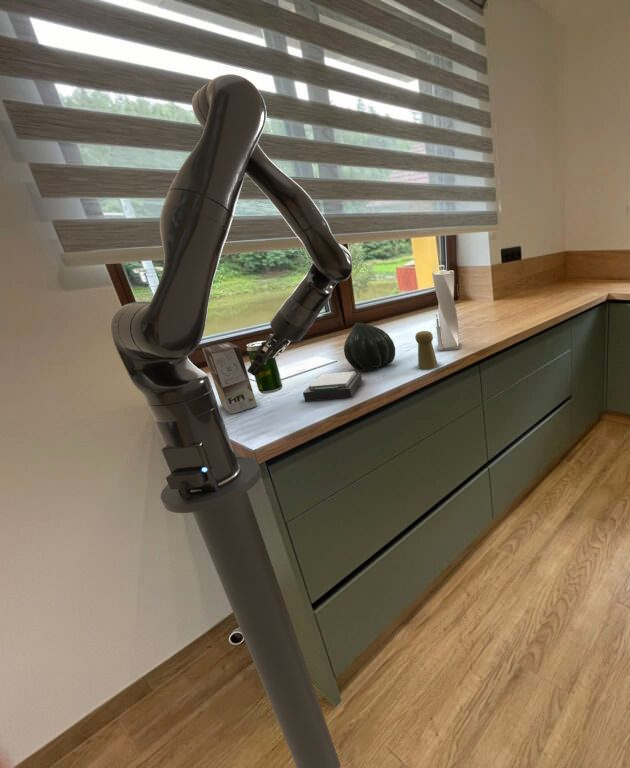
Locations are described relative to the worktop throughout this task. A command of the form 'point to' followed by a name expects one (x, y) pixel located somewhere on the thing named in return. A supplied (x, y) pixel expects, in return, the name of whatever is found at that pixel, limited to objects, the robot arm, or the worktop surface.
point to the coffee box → (230, 377)
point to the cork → (425, 350)
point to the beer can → (266, 372)
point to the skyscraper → (446, 310)
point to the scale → (333, 386)
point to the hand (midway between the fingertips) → (257, 369)
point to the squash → (368, 347)
